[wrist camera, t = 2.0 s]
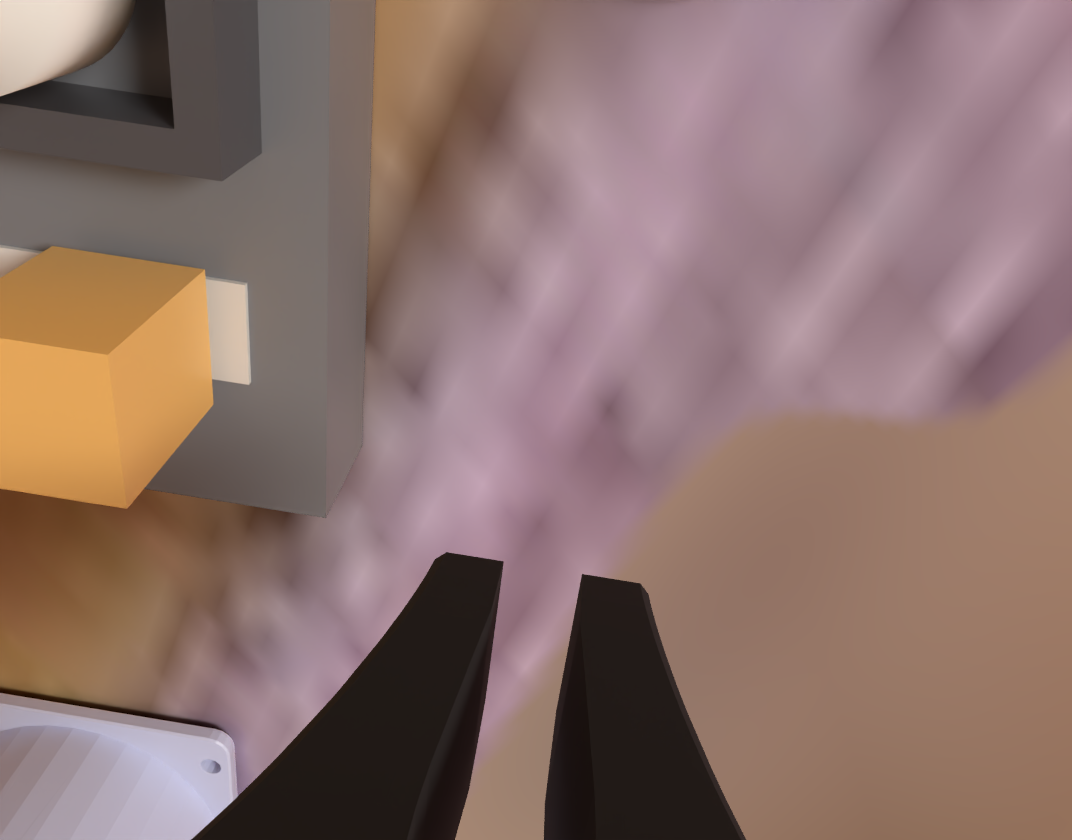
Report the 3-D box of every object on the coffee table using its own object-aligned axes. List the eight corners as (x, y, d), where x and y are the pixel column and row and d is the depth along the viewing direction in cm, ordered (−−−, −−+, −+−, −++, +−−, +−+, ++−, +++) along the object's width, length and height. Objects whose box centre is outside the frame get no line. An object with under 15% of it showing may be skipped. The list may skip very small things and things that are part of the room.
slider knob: (213, 404, 16) (127, 508, 13) (73, 382, 16) (-41, 481, 13) (205, 269, 14) (107, 354, 12) (52, 246, 14) (-78, 325, 12)
